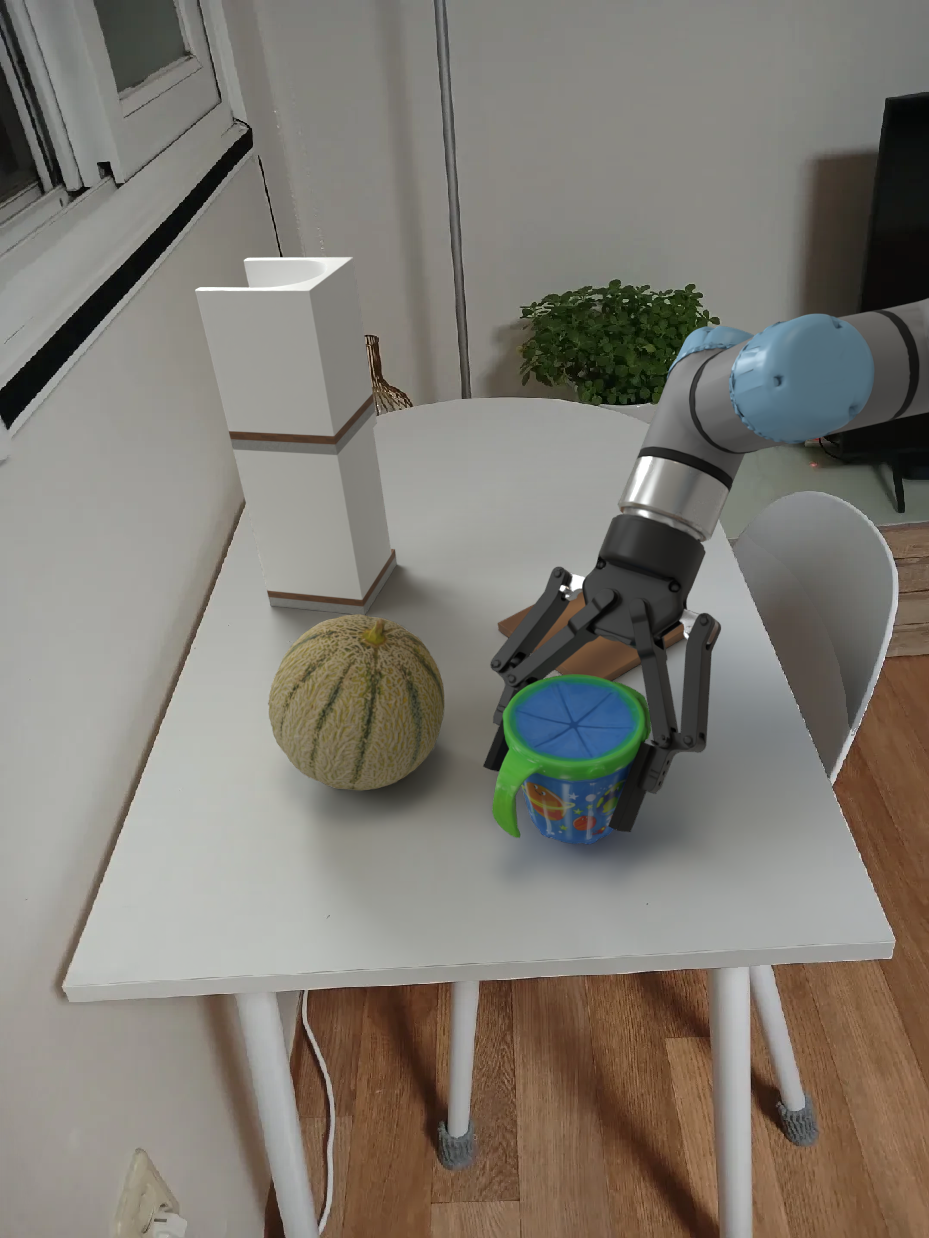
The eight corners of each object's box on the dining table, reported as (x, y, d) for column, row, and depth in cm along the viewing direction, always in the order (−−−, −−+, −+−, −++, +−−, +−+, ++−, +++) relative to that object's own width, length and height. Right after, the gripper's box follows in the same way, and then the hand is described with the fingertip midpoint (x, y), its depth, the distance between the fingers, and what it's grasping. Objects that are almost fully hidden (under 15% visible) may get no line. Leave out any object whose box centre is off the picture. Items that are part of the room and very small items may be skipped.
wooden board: (691, 633, 96) (692, 625, 96) (590, 693, 90) (590, 685, 90) (595, 579, 106) (595, 571, 105) (497, 630, 100) (497, 622, 99)
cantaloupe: (261, 753, 87) (225, 619, 78) (401, 690, 93) (381, 559, 84) (331, 855, 76) (297, 713, 68) (484, 777, 82) (471, 637, 74)
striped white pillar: (397, 564, 112) (353, 257, 92) (364, 615, 104) (309, 290, 84) (308, 556, 115) (247, 258, 95) (270, 605, 107) (194, 290, 87)
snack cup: (603, 735, 83) (603, 642, 78) (694, 802, 76) (701, 705, 70) (459, 822, 76) (446, 726, 71) (542, 905, 69) (536, 806, 63)
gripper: (818, 583, 70) (709, 865, 69) (555, 509, 82) (459, 747, 82) (798, 554, 63) (677, 863, 63) (516, 479, 76) (412, 736, 75)
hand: (554, 798), depth 72 cm, fingers closed on snack cup, 10 cm apart
